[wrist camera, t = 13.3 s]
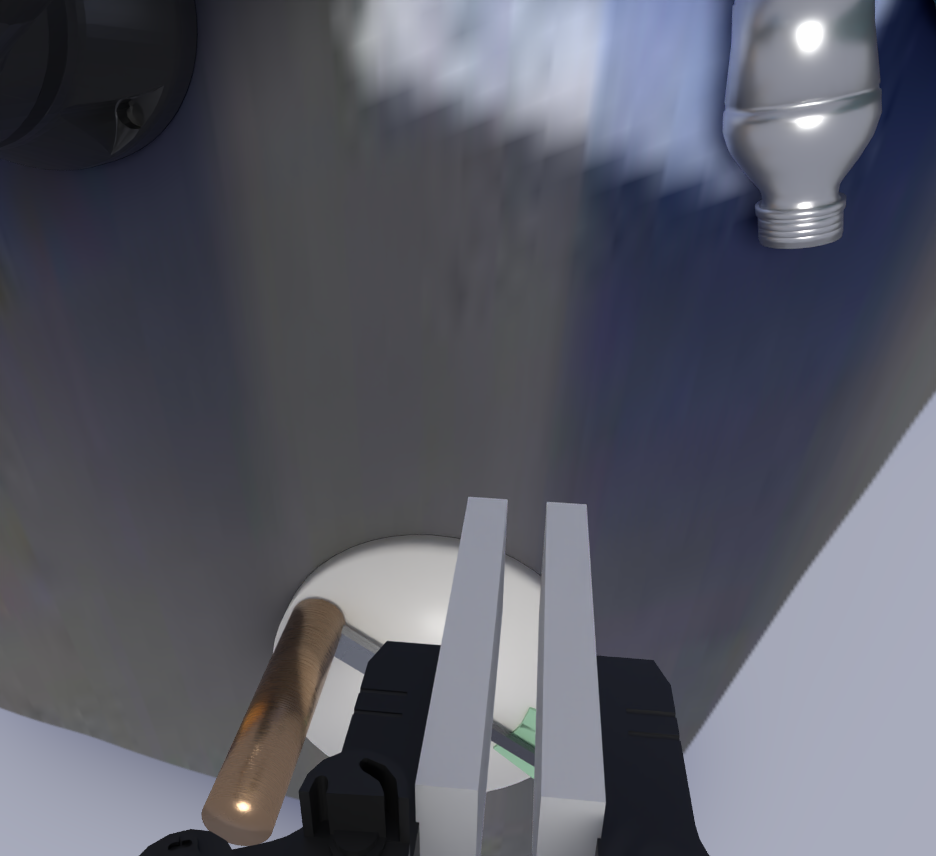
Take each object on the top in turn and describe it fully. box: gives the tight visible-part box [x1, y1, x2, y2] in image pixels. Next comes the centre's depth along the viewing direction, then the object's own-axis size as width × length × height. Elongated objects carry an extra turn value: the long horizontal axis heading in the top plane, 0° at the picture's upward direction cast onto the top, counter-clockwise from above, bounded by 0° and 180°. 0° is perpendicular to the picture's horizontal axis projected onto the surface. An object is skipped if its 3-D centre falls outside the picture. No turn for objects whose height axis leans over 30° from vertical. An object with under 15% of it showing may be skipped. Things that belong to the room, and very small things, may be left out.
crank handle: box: [202, 599, 535, 846], centre depth 48 cm, size 21×5×15 cm, turn 54°
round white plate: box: [273, 535, 541, 792], centre depth 55 cm, size 22×22×2 cm
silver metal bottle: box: [722, 0, 882, 249], centre depth 33 cm, size 6×7×20 cm
